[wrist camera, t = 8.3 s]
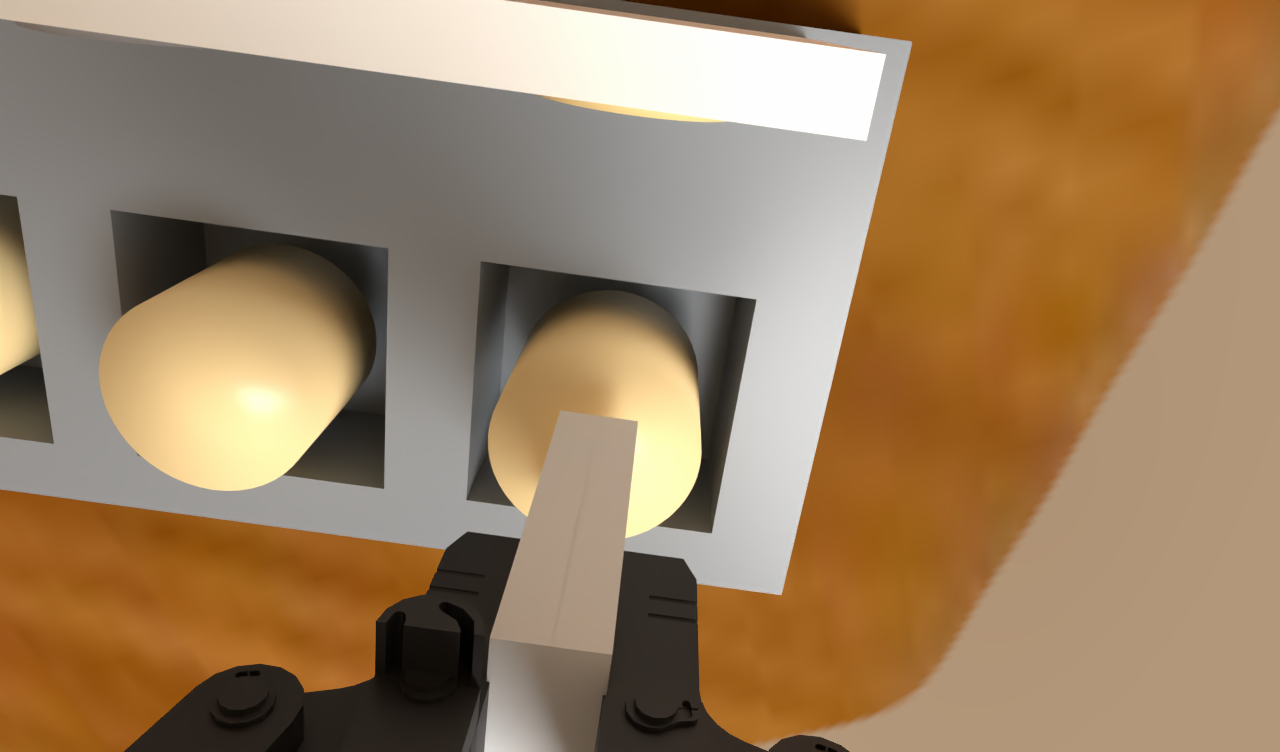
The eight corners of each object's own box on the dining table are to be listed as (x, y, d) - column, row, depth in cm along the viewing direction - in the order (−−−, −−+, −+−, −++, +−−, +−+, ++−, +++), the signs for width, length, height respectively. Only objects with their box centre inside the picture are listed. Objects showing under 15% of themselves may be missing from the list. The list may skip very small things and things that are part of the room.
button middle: (205, 399, 22) (110, 475, 19) (193, 231, 21) (86, 279, 17) (375, 422, 22) (315, 503, 19) (378, 257, 21) (311, 310, 17)
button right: (514, 441, 22) (481, 526, 19) (528, 278, 21) (495, 336, 17) (683, 464, 22) (684, 554, 19) (711, 303, 21) (717, 366, 17)
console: (-94, 375, 26) (-669, 644, 15) (-202, -116, 21) (-1188, -260, 10) (763, 492, 26) (823, 841, 15) (862, 35, 21) (1058, 60, 10)
